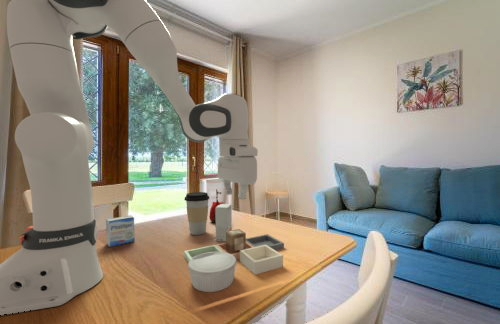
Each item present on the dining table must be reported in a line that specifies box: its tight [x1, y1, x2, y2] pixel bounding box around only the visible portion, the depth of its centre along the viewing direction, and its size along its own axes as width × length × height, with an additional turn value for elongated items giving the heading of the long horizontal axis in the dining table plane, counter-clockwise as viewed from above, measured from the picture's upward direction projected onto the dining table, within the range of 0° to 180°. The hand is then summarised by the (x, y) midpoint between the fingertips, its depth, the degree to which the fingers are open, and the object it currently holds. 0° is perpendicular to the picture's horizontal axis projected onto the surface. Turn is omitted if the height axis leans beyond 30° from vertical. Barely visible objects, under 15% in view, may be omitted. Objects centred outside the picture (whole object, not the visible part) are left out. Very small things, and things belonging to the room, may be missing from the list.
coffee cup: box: [183, 191, 210, 236], centre depth 92 cm, size 9×9×15 cm
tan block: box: [225, 228, 247, 254], centre depth 72 cm, size 4×5×6 cm
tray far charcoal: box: [246, 234, 285, 251], centre depth 77 cm, size 10×10×2 cm
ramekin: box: [187, 252, 237, 293], centre depth 56 cm, size 11×11×5 cm
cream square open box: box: [239, 245, 284, 276], centre depth 64 cm, size 8×8×4 cm
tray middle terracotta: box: [215, 242, 254, 261], centre depth 72 cm, size 10×10×2 cm
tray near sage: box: [183, 244, 223, 263], centre depth 68 cm, size 10×10×2 cm
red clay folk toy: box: [208, 188, 225, 224], centre depth 106 cm, size 8×7×15 cm
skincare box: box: [215, 203, 233, 242], centre depth 84 cm, size 6×4×12 cm
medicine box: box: [105, 215, 135, 248], centre depth 82 cm, size 8×4×9 cm, turn 131°
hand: (235, 196), depth 72 cm, fingers open, 8 cm apart
